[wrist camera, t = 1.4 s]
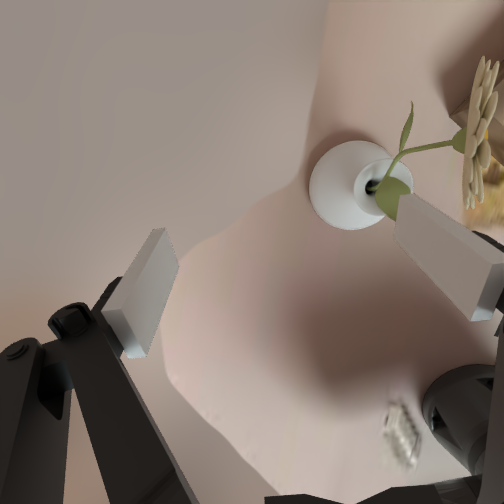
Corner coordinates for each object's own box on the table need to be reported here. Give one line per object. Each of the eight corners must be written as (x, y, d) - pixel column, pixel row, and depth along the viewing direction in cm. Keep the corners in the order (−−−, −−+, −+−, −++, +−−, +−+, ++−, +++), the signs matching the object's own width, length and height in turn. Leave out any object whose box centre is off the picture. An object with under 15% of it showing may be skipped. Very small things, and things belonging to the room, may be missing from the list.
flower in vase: (373, 239, 39) (506, 329, 15) (296, 212, 39) (303, 257, 15) (416, 145, 35) (686, 59, 11) (331, 117, 36) (412, -19, 12)
